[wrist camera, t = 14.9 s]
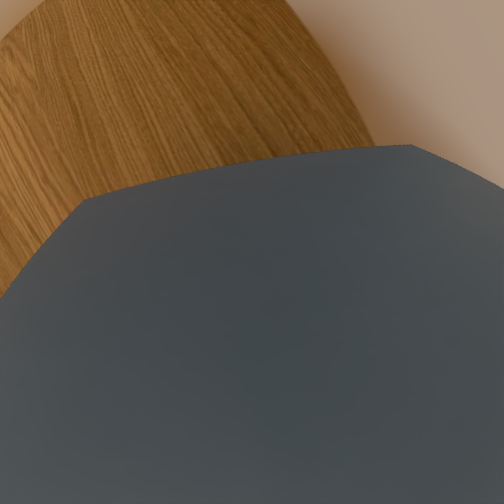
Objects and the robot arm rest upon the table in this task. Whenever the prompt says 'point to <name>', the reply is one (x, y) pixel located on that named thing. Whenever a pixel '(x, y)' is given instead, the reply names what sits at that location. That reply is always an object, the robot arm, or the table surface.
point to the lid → (263, 339)
